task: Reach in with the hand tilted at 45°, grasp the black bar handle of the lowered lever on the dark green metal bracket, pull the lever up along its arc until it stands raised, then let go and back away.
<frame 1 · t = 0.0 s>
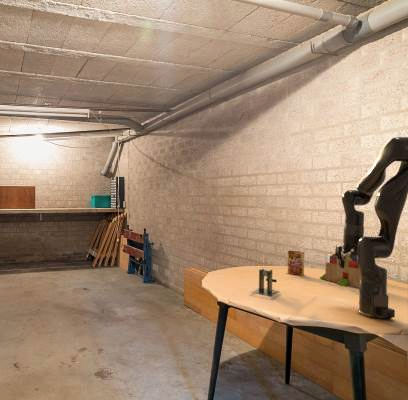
hand: (351, 268, 159), 17 cm above the table, tool pointing down, fingers open, 8 cm apart
candy box: (295, 274, 224), on the table
candy bar box: (347, 276, 221), on the table
bracket: (265, 294, 175), on the table
lever: (268, 276, 177), point 9 cm above the table, hinge at -30.0°
block set: (346, 284, 200), on the table
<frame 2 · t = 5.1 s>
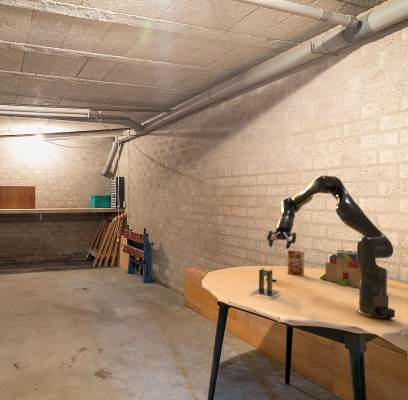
hand: (278, 247, 189), 22 cm above the table, tool tilted 45°, fingers open, 8 cm apart
nothing on the table moved.
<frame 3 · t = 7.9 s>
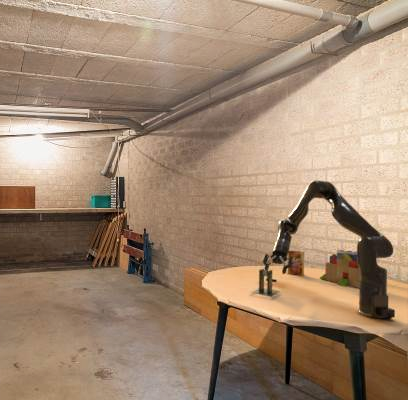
hand: (274, 271, 185), 10 cm above the table, tool tilted 45°, fingers open, 8 cm apart
nothing on the table moved.
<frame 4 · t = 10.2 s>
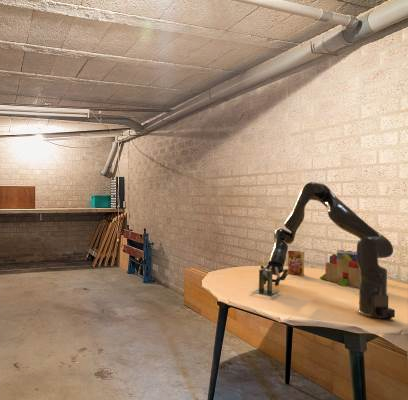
hand: (270, 284, 179), 4 cm above the table, tool tilted 45°, fingers closed on lever, 5 cm apart
lever: (268, 276, 177), point 9 cm above the table, hinge at -30.1°, touching gripper
everything else where it was.
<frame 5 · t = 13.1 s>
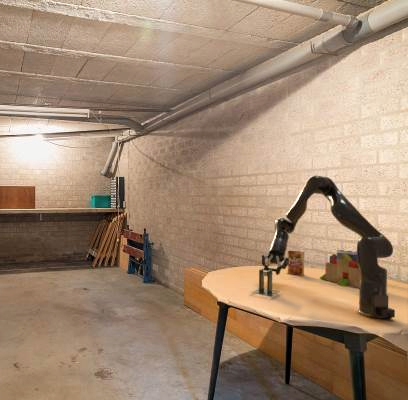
hand: (271, 273, 180), 10 cm above the table, tool tilted 45°, fingers closed on lever, 5 cm apart
lever: (268, 271, 178), point 11 cm above the table, hinge at 1.9°, touching gripper
everything else where it was.
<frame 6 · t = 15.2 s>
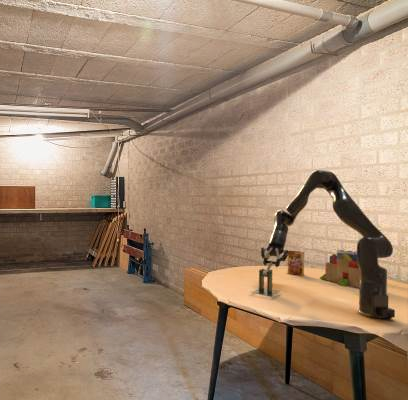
hand: (270, 265, 180), 14 cm above the table, tool tilted 45°, fingers closed on lever, 5 cm apart
lever: (268, 268, 178), point 13 cm above the table, hinge at 25.6°, touching gripper
everything else where it was.
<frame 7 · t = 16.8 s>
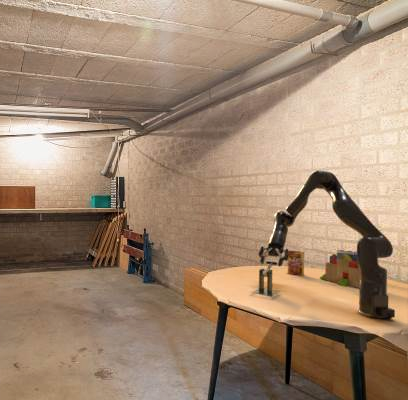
hand: (270, 264, 180), 15 cm above the table, tool tilted 45°, fingers open, 8 cm apart
lever: (268, 268, 178), point 13 cm above the table, hinge at 23.4°
everything else where it was.
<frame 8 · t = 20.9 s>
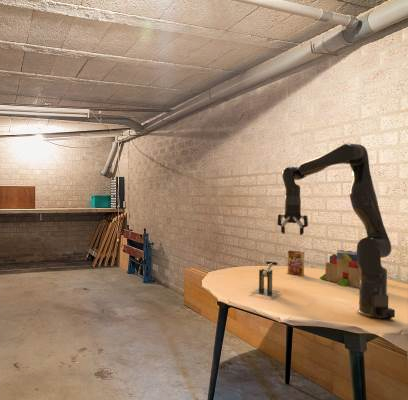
hand: (292, 234, 184), 30 cm above the table, tool pointing down, fingers open, 8 cm apart
nothing on the table moved.
at the end: lever at +23° (first picture: -30°); lever reached +26° during the clip, +23° at the end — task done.
